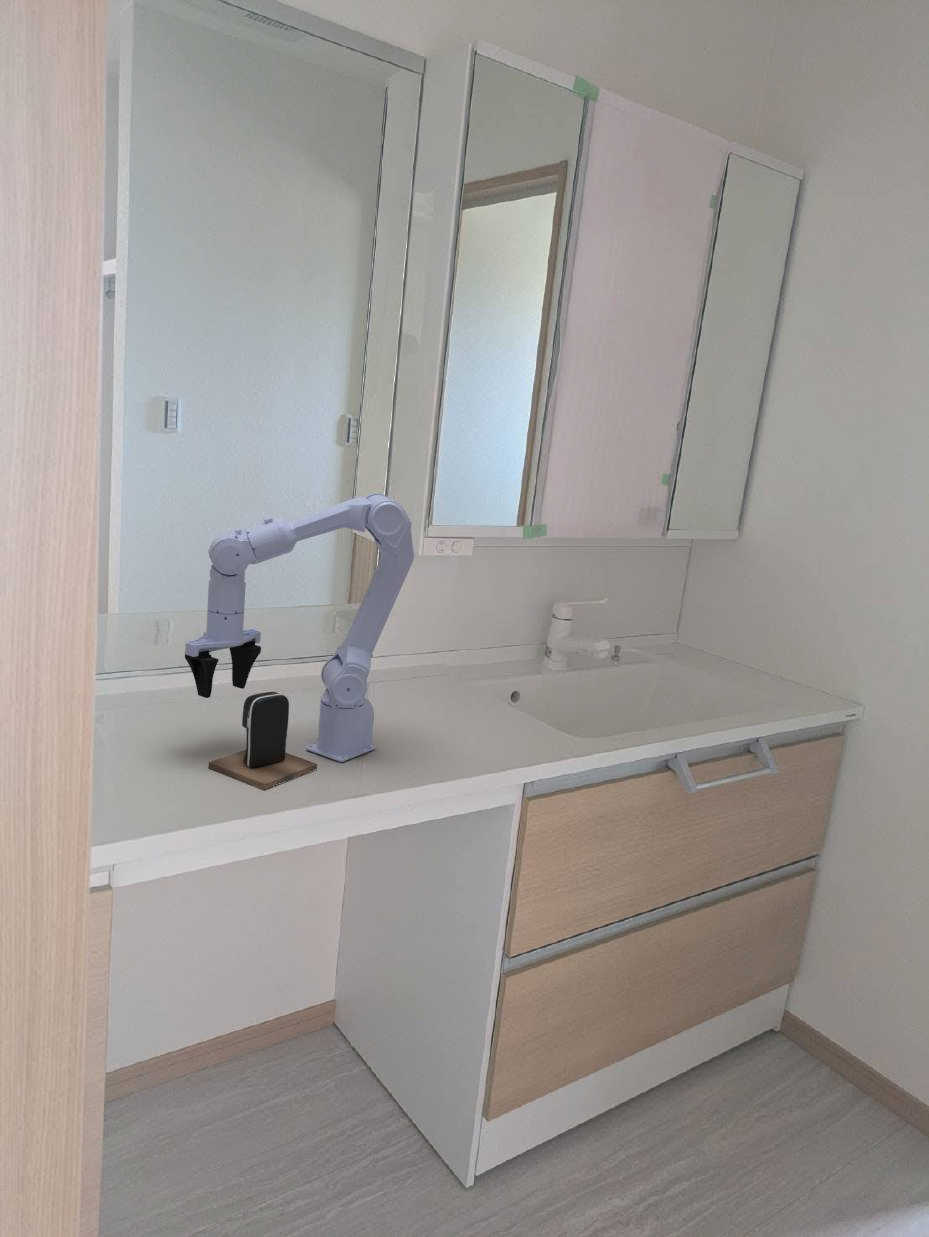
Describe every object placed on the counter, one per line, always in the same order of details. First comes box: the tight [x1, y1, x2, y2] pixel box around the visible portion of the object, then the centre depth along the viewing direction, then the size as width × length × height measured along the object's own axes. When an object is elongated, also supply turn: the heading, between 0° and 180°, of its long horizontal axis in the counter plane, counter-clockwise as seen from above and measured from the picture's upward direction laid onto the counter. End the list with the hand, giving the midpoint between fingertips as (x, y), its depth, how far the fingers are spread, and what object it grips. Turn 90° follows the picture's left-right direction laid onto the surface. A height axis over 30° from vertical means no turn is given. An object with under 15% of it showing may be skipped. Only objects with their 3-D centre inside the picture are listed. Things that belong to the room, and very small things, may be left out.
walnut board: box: [208, 749, 318, 790], centre depth 158 cm, size 12×12×1 cm
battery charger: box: [241, 691, 290, 768], centre depth 157 cm, size 7×4×11 cm, turn 136°
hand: (221, 691), depth 161 cm, fingers open, 7 cm apart
